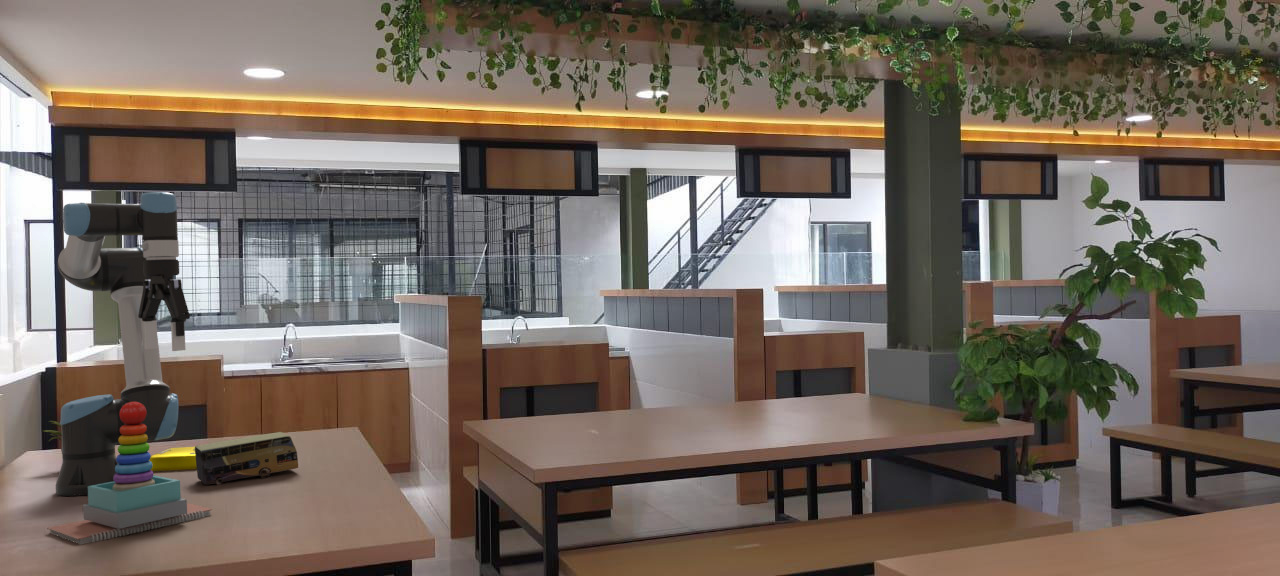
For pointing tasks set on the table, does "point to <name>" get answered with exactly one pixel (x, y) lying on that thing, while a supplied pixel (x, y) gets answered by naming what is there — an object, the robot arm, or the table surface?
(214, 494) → the table surface
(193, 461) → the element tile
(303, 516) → the table surface
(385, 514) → the table surface
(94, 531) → the notebook
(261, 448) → the toy bus
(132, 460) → the stacking toy
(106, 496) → the brick base
